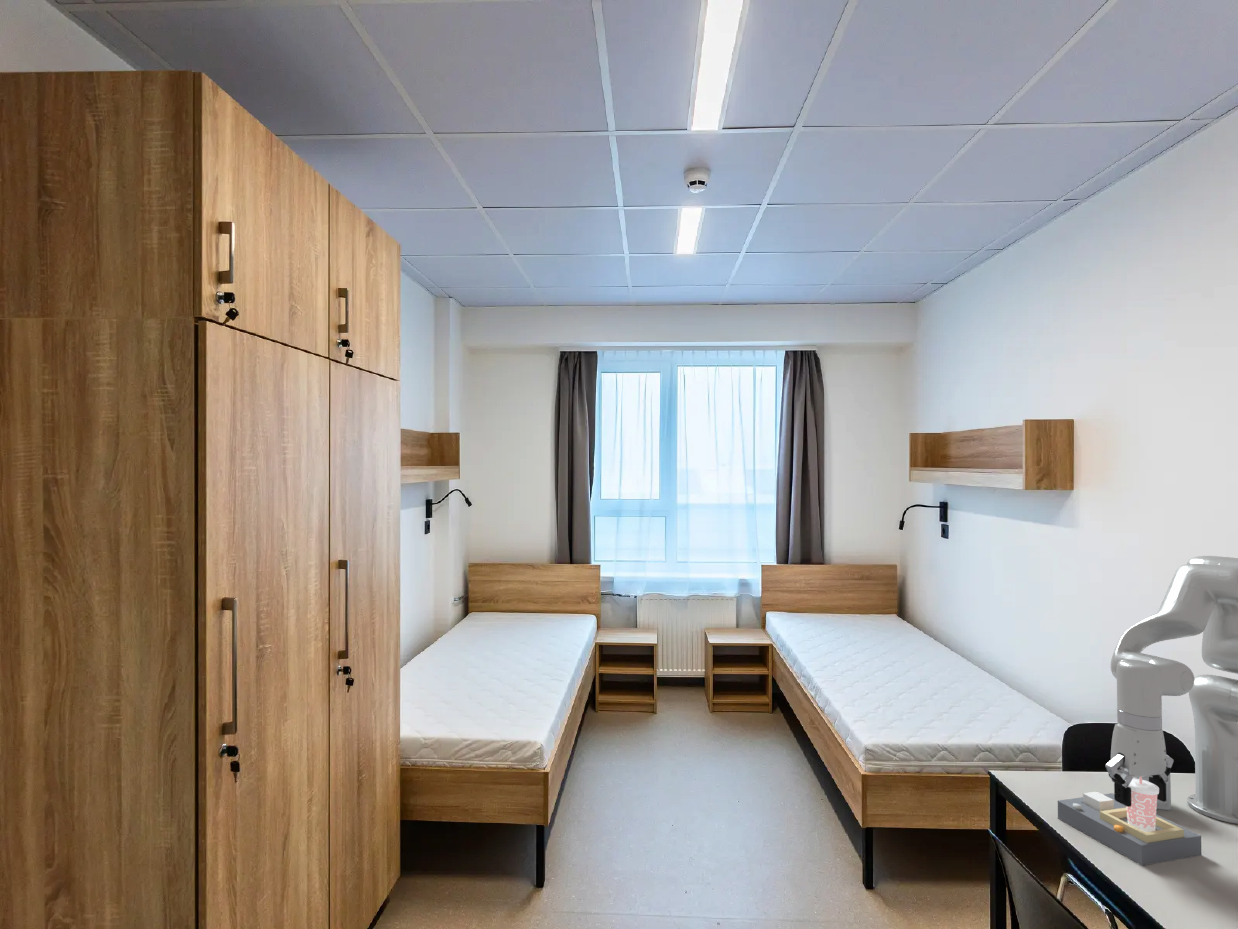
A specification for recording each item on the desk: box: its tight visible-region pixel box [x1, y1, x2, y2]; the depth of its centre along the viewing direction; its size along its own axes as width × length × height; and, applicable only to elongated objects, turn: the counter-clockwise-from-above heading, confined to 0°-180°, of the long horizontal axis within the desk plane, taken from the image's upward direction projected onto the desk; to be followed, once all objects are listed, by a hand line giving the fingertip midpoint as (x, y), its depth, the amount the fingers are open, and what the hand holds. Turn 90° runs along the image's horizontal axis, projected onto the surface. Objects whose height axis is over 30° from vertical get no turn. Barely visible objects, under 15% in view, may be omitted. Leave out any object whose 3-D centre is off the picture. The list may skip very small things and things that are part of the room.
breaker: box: [1082, 791, 1114, 812], centre depth 148 cm, size 4×4×4 cm
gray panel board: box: [1057, 792, 1203, 866], centre depth 143 cm, size 16×19×6 cm
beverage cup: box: [1126, 777, 1159, 832], centre depth 139 cm, size 6×6×14 cm
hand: (1140, 801), depth 139 cm, fingers open, 9 cm apart
